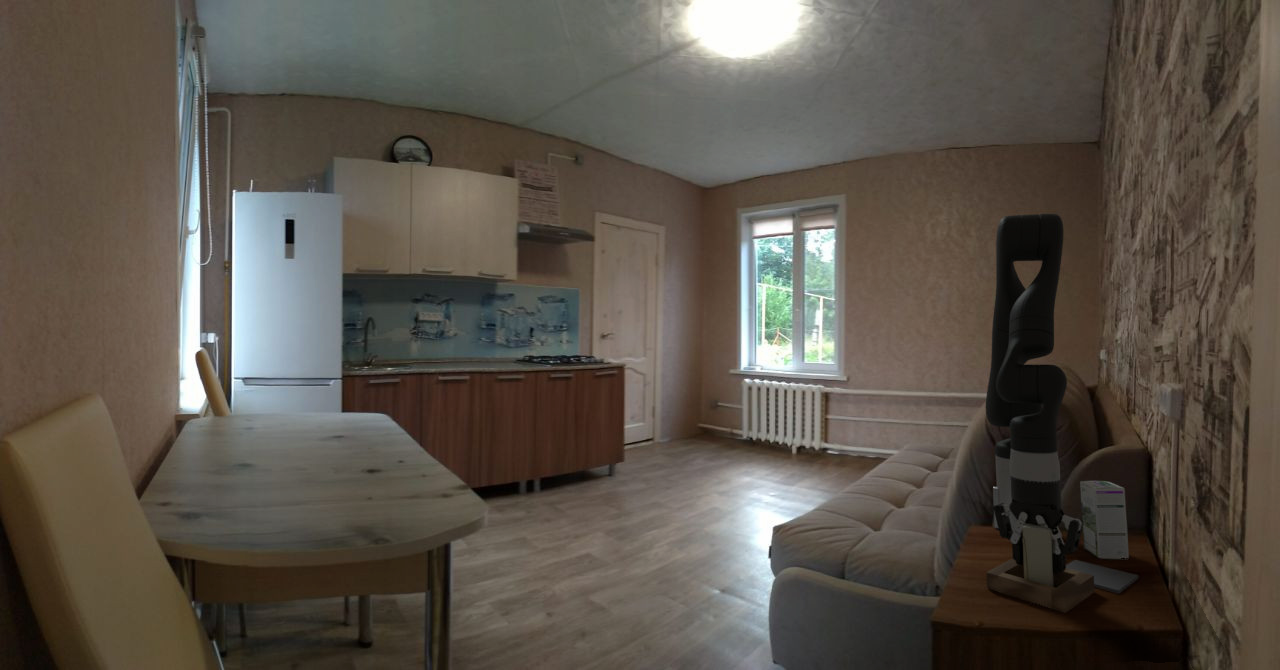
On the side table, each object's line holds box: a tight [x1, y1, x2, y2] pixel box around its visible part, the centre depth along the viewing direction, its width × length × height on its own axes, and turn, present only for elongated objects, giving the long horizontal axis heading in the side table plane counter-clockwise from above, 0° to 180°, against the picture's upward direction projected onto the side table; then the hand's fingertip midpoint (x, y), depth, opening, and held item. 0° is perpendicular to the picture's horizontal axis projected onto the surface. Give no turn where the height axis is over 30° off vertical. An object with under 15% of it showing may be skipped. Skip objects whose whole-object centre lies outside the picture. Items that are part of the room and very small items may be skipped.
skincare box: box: [1023, 523, 1055, 587], centre depth 107 cm, size 6×4×12 cm
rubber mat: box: [1066, 559, 1139, 595], centre depth 111 cm, size 10×10×1 cm
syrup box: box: [1079, 480, 1130, 560], centre depth 121 cm, size 6×6×14 cm
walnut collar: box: [985, 557, 1095, 614], centre depth 106 cm, size 12×12×3 cm
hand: (1038, 568), depth 107 cm, fingers closed on skincare box, 5 cm apart
